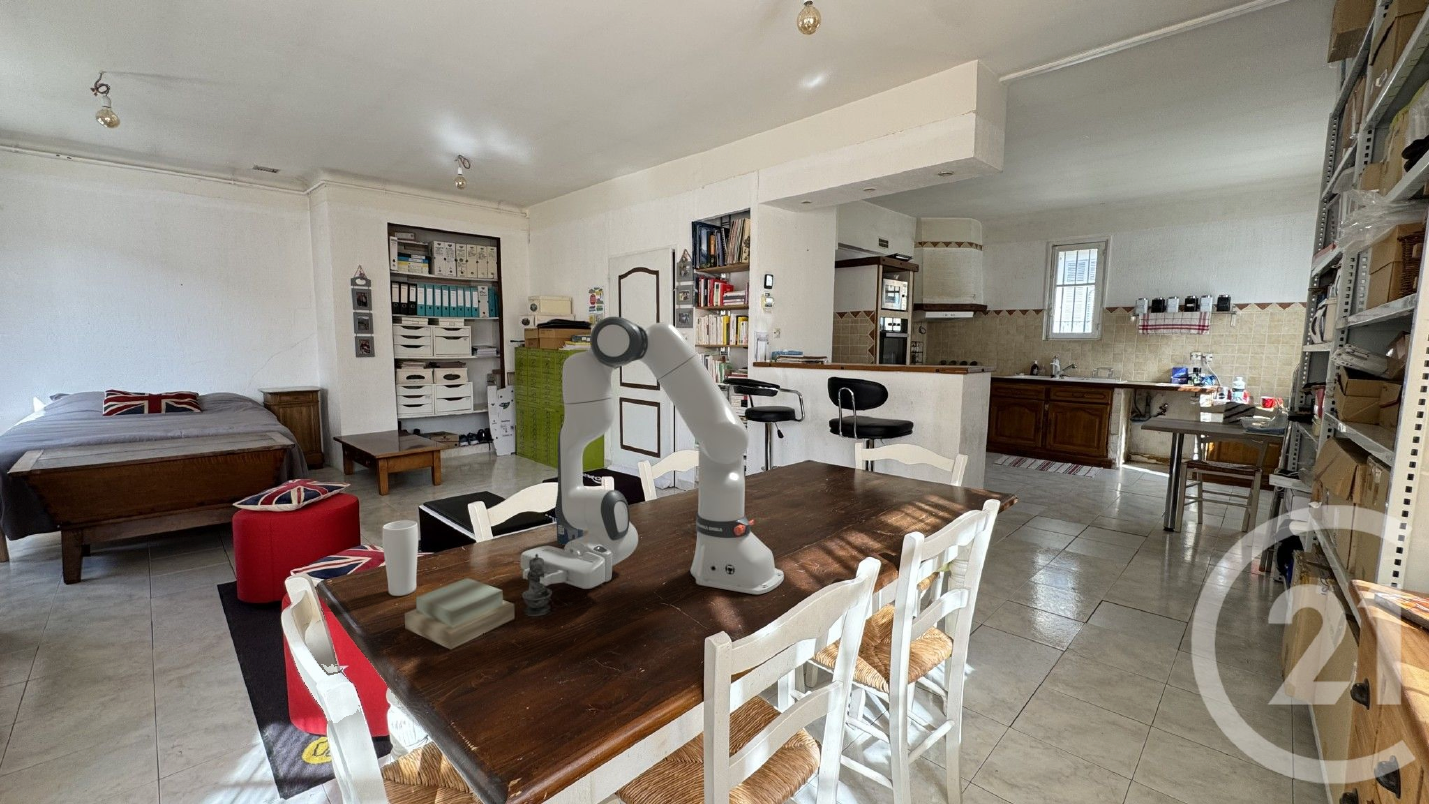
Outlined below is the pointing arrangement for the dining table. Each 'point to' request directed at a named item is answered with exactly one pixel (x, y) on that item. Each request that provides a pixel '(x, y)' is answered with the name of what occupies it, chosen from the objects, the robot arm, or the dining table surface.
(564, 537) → the soda can
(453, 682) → the dining table surface
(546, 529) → the dining table surface
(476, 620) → the brick tower base
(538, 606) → the dark grey ornamental finial
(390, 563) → the drinking glass
